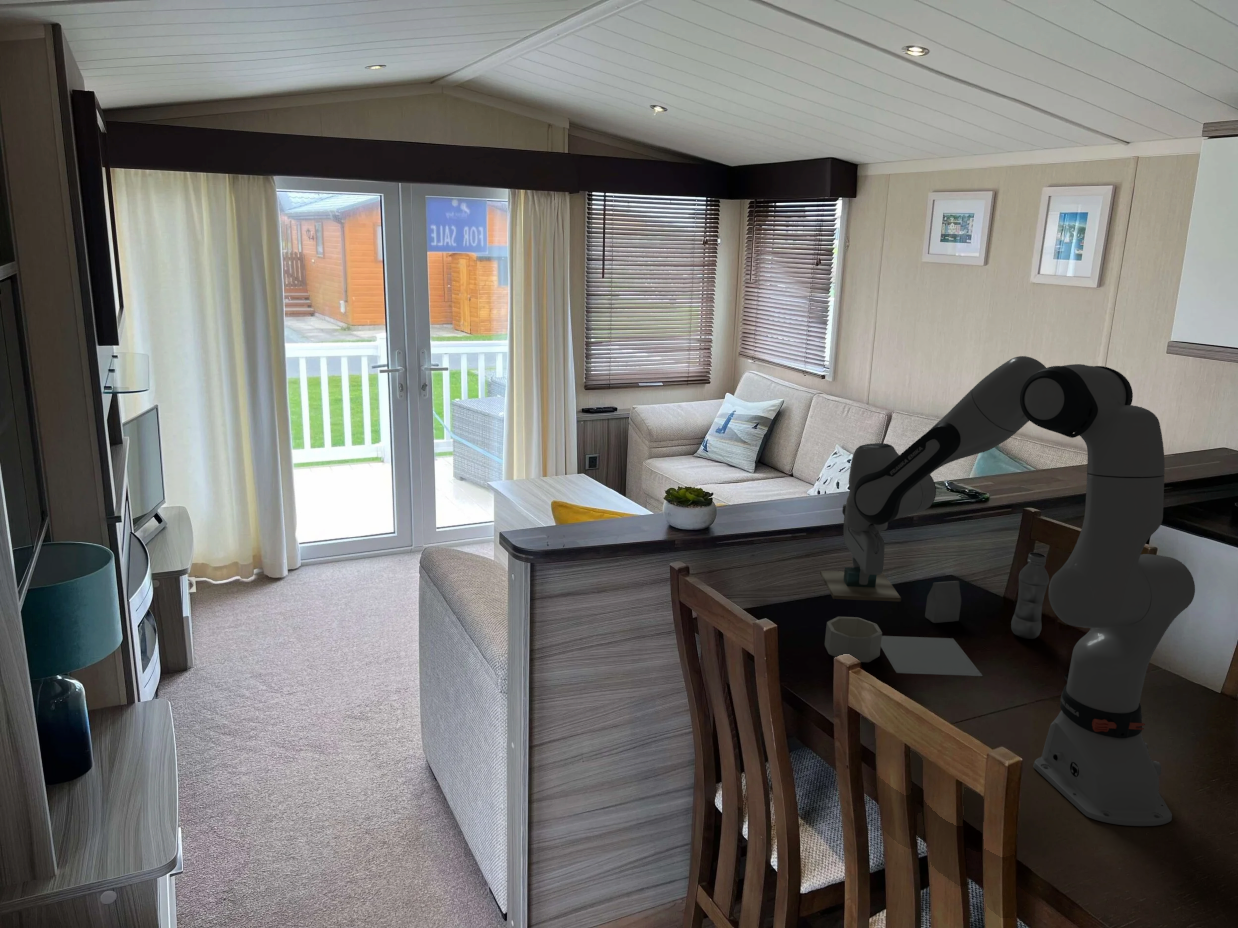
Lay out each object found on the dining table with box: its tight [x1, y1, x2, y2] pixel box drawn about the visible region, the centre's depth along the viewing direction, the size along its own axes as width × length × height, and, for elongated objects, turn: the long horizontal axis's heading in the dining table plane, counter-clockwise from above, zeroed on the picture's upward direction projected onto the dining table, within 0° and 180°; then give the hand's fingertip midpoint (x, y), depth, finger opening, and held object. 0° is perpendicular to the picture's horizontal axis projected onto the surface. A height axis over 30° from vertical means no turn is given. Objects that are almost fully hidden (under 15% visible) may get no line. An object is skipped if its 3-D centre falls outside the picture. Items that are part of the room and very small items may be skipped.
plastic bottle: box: [1010, 551, 1050, 640], centre depth 209 cm, size 6×7×20 cm
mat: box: [880, 635, 983, 677], centre depth 199 cm, size 18×18×1 cm
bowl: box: [824, 616, 883, 663], centre depth 199 cm, size 11×11×6 cm
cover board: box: [819, 566, 902, 602], centre depth 196 cm, size 14×14×4 cm
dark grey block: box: [924, 580, 962, 624], centre depth 217 cm, size 4×7×10 cm, turn 105°
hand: (859, 578), depth 196 cm, fingers closed on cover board, 3 cm apart
